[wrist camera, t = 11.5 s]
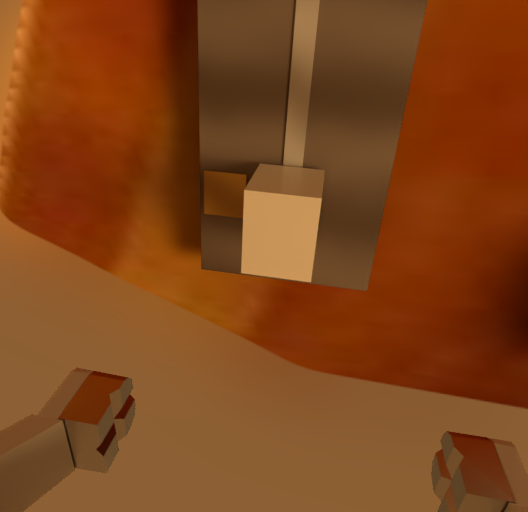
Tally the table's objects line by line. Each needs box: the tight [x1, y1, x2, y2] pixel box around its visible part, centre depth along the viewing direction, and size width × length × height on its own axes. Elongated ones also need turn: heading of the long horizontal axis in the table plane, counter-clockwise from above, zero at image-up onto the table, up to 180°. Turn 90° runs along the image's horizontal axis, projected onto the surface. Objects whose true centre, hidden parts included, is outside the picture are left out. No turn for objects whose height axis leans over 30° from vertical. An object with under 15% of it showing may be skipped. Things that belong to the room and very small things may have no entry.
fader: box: [241, 164, 325, 282], centre depth 25 cm, size 5×4×5 cm
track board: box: [197, 0, 427, 291], centre depth 25 cm, size 26×12×3 cm, turn 176°
